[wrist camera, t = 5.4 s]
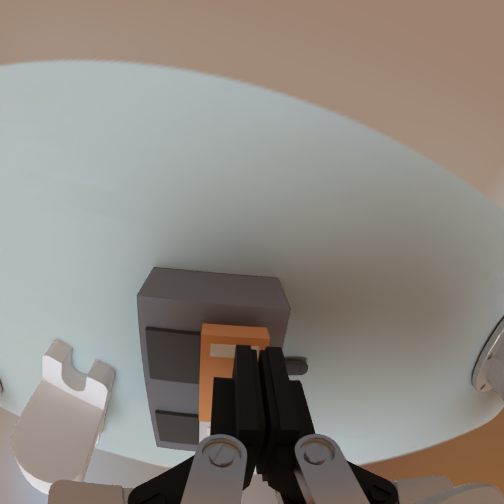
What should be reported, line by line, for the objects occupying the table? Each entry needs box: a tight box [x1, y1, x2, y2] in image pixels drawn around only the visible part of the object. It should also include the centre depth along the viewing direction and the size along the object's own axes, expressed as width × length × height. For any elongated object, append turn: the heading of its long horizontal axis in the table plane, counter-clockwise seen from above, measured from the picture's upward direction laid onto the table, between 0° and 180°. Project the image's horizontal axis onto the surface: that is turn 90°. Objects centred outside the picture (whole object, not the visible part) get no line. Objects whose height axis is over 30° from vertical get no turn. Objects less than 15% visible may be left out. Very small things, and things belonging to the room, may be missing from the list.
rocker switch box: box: [137, 267, 308, 451], centre depth 16 cm, size 10×12×4 cm
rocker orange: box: [199, 323, 270, 422], centre depth 12 cm, size 3×5×1 cm, turn 173°
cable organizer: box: [11, 340, 115, 495], centre depth 14 cm, size 5×10×10 cm, turn 154°
